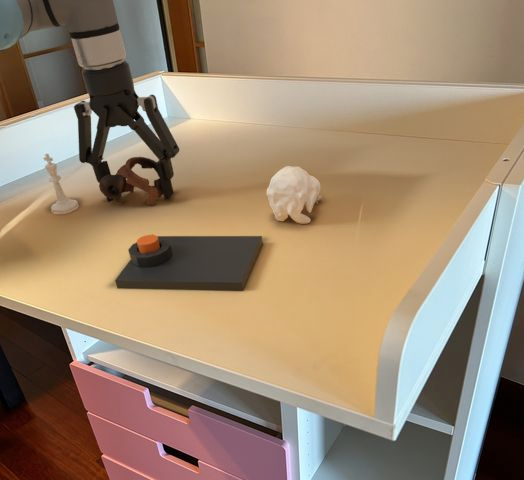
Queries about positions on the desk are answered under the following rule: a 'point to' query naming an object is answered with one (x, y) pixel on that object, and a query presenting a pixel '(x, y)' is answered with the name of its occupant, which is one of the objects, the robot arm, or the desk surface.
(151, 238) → the button
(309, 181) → the white animal figurine
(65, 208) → the chess piece
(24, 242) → the desk surface
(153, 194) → the brown curved loop
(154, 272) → the dark grey button base
